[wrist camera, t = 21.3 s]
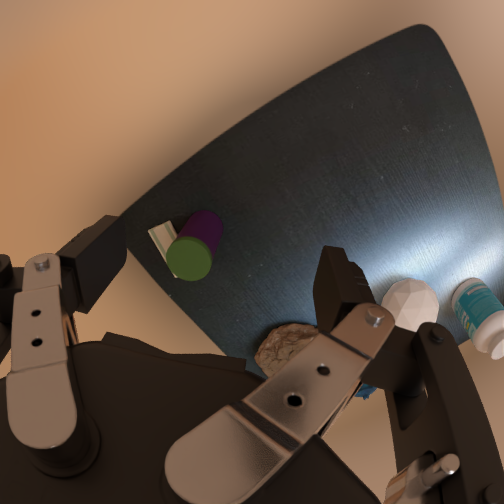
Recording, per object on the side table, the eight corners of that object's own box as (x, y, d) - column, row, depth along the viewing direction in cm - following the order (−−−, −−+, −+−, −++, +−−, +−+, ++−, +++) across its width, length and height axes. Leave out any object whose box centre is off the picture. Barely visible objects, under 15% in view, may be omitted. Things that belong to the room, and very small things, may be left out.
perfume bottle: (411, 256, 38) (346, 302, 44) (439, 310, 31) (362, 356, 37) (432, 278, 42) (373, 317, 48) (455, 326, 36) (389, 365, 42)
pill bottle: (443, 296, 42) (478, 353, 31) (476, 268, 40) (518, 319, 28) (457, 318, 45) (488, 372, 33) (487, 293, 42) (524, 342, 30)
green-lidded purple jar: (180, 216, 40) (157, 248, 32) (214, 204, 38) (198, 233, 30) (196, 248, 42) (178, 285, 34) (229, 237, 40) (218, 274, 33)
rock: (317, 303, 44) (321, 325, 40) (343, 346, 48) (348, 368, 44) (242, 334, 48) (239, 357, 44) (275, 372, 52) (274, 394, 48)
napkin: (148, 229, 41) (147, 231, 40) (170, 220, 40) (168, 221, 39) (176, 276, 44) (175, 278, 43) (197, 268, 43) (196, 271, 43)
